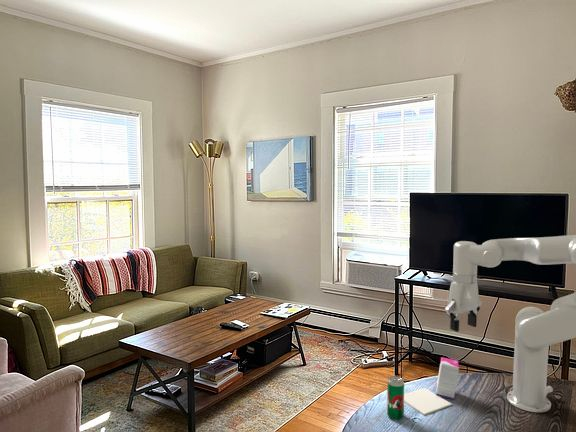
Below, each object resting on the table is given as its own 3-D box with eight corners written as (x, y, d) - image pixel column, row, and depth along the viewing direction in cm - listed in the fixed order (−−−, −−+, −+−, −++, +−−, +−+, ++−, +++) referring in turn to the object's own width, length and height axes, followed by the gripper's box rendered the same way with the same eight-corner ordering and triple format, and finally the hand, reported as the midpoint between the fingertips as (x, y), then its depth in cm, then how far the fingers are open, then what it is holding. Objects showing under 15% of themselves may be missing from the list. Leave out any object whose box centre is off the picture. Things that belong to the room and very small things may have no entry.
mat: (424, 389, 154) (424, 387, 154) (451, 405, 144) (451, 403, 144) (397, 397, 149) (397, 396, 149) (423, 415, 138) (424, 413, 138)
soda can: (406, 415, 138) (407, 379, 137) (398, 422, 135) (398, 385, 133) (392, 409, 142) (393, 374, 140) (384, 416, 138) (384, 379, 137)
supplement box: (454, 399, 147) (459, 367, 145) (435, 395, 149) (440, 363, 147) (453, 391, 152) (458, 360, 151) (435, 387, 154) (440, 356, 153)
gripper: (473, 272, 157) (471, 320, 159) (437, 279, 149) (436, 329, 151) (491, 277, 151) (489, 326, 153) (455, 284, 143) (454, 336, 145)
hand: (463, 327), depth 152 cm, fingers open, 7 cm apart
